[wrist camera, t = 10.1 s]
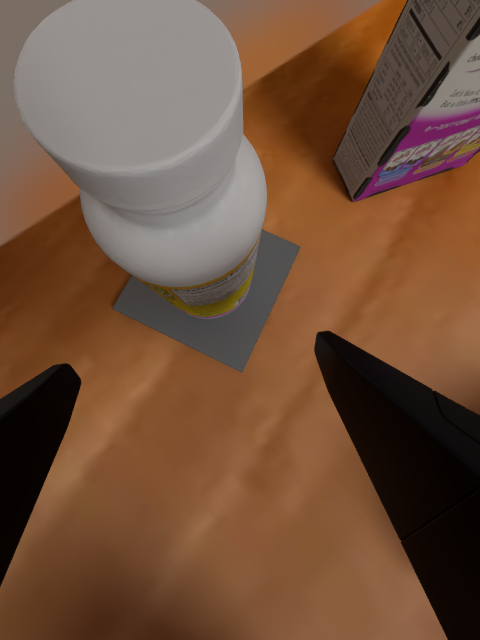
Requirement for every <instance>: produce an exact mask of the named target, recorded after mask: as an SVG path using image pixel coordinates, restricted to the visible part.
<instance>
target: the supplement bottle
mask: <svg viewBox="0 0 480 640" xmlns="http://www.w3.org/2000/svg"><path fill="white" fill-rule="evenodd" d="M242 85H243V84H242V68H241V62H240V58H239V54H238V50H237V47H236V44H235V42H234V40H233V38H232V37H231V35H230V33H229V31H228V30H227V28H226V27H225V25H224V24H223V23H222V22H221V21H220V20H219V19H218V17H217V16H216V15H214V14H213V13H212V12H211V11H210V10H209V9H208V8H207V7H205V6H204V5H202V4H201V3H199V2H198V1H196V0H72V1H70V2H69V3H67V4H65V5H64V6H62V7H60V8H59V9H57V10H55V11H54V12H53V13H52V14H50V15H49V16H48V17H46V18H45V19H44V20H43V21H42V22H41V23H40V24H39V26H38V27H36V28H35V29H34V31H32V33H31V34H30V36H29V37H28V39H27V40H26V42H25V45H24V47H23V49H22V51H21V53H20V55H19V58H18V61H17V64H16V68H15V76H14V92H15V100H16V104H17V108H18V111H19V113H20V115H21V118H22V120H23V122H24V124H25V125H26V127H27V129H28V130H29V132H30V133H31V135H32V136H33V137H34V139H35V140H36V141H37V142H38V144H39V145H40V146H41V147H42V148H44V150H45V151H46V152H47V153H48V154H49V155H50V156H51V157H52V158H53V159H54V160H55V162H56V163H57V164H58V165H59V166H60V167H61V168H62V169H63V170H64V171H65V172H66V174H67V175H68V176H69V177H70V178H71V180H73V182H74V183H75V184H76V185H77V186H78V187H79V188H80V200H81V207H82V211H83V215H84V219H85V222H86V224H87V226H88V229H89V231H90V232H91V234H92V236H93V238H94V240H95V241H96V243H97V244H98V245H99V247H100V248H101V249H102V250H103V252H104V253H105V254H106V255H107V256H108V257H109V258H110V259H111V260H112V261H114V262H115V263H116V264H117V265H118V266H120V267H121V268H122V269H124V270H125V271H126V272H128V273H129V274H131V275H132V276H134V277H135V278H136V279H138V280H139V281H141V282H142V283H143V284H145V285H146V286H148V287H149V288H150V289H152V290H153V291H154V292H156V293H157V294H159V295H160V296H161V297H163V298H164V299H165V300H167V301H168V302H170V303H171V304H172V305H174V306H175V307H177V308H178V309H179V310H181V311H183V312H184V313H186V314H188V315H190V316H193V317H196V318H202V319H212V318H218V317H221V316H224V315H226V314H228V313H230V312H232V311H233V310H235V309H236V308H237V307H238V306H239V305H240V304H241V303H242V302H243V300H244V299H245V297H246V295H247V294H248V291H249V289H250V285H251V281H252V276H253V272H254V266H255V261H256V256H257V251H258V246H259V241H260V237H261V232H262V227H263V223H264V217H265V212H266V204H267V190H266V181H265V176H264V172H263V168H262V165H261V163H260V160H259V158H258V156H257V154H256V152H255V150H254V148H253V147H252V145H251V144H250V142H249V141H248V140H247V138H246V137H245V136H244V135H243V86H242Z"/></svg>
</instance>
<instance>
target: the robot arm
mask: <svg viewBox="0 0 480 640" xmlns="http://www.w3.org/2000/svg"><path fill="white" fill-rule="evenodd" d="M314 351H315V356H316V358H317V361H318V364H319V367H320V370H321V373H322V376H323V378H324V381H325V384H326V387H327V389H328V392H329V394H330V396H331V398H332V401H333V403H334V405H335V407H336V409H337V411H338V413H339V415H340V417H341V419H342V421H343V423H344V425H345V427H346V430H347V432H348V434H349V436H350V438H351V440H352V442H353V444H354V446H355V448H356V450H357V452H358V454H359V456H360V458H361V461H362V463H363V465H364V467H365V469H366V471H367V473H368V475H369V477H370V479H371V481H372V483H373V485H374V487H375V489H376V492H377V494H378V496H379V498H380V500H381V502H382V504H383V506H384V508H385V510H386V512H387V514H388V516H389V518H390V520H391V523H392V525H393V527H394V529H395V531H396V533H397V535H398V537H399V539H400V540H401V544H402V546H403V548H404V550H405V552H406V554H407V556H408V558H409V560H410V562H411V564H412V566H413V568H414V571H415V573H416V575H417V577H418V579H419V581H420V583H421V585H422V587H423V589H424V591H425V593H426V595H427V597H428V599H429V602H430V604H431V606H432V608H433V610H434V612H435V614H436V616H437V618H438V620H439V622H440V624H441V626H442V628H443V631H444V633H445V635H446V637H447V639H448V640H480V415H478V414H476V413H474V412H472V411H471V410H469V409H467V408H465V407H463V406H461V405H460V404H458V403H456V402H454V401H452V400H450V399H449V398H447V397H445V396H443V395H442V394H440V393H438V392H436V391H432V389H431V388H429V387H427V386H426V385H424V384H422V383H420V382H419V381H417V380H415V379H413V378H412V377H410V376H408V375H406V374H404V373H403V372H401V371H399V370H397V369H396V368H394V367H392V366H390V365H389V364H387V363H385V362H383V361H382V360H380V359H378V358H376V357H375V356H373V355H371V354H369V353H367V352H366V351H364V350H362V349H360V348H359V347H357V346H355V345H353V344H352V343H350V342H348V341H346V340H345V339H343V338H341V337H339V336H338V335H336V334H334V333H332V332H330V331H322V332H318V333H317V335H316V342H315V348H314ZM80 386H81V379H80V377H79V376H78V374H77V373H76V372H75V370H74V369H73V368H72V366H71V365H69V364H66V363H65V364H57V365H53V366H52V367H50V368H48V369H47V370H45V371H44V372H42V373H41V374H39V375H37V376H36V377H34V378H33V379H31V380H30V381H28V382H26V383H25V384H23V385H22V386H20V387H19V388H17V389H15V390H14V391H12V392H11V393H9V394H8V395H6V396H4V397H3V398H1V399H0V586H1V584H2V582H3V579H4V577H5V574H6V572H7V570H8V567H9V565H10V563H11V560H12V558H13V555H14V553H15V551H16V548H17V546H18V544H19V541H20V539H21V537H22V534H23V532H24V529H25V527H26V525H27V522H28V520H29V518H30V515H31V513H32V511H33V508H34V506H35V503H36V501H37V499H38V496H39V494H40V492H41V489H42V487H43V484H44V482H45V480H46V477H47V475H48V473H49V470H50V468H51V466H52V463H53V461H54V458H55V456H56V454H57V451H58V449H59V447H60V444H61V442H62V439H63V437H64V435H65V432H66V430H67V427H68V425H69V422H70V419H71V415H72V412H73V409H74V406H75V402H76V399H77V396H78V393H79V389H80Z"/></svg>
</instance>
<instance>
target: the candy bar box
mask: <svg viewBox="0 0 480 640" xmlns="http://www.w3.org/2000/svg"><path fill="white" fill-rule="evenodd" d="M479 151H480V0H407V2H406V4H405V6H404V8H403V10H402V12H401V14H400V16H399V18H398V20H397V22H396V25H395V27H394V29H393V31H392V33H391V35H390V37H389V39H388V41H387V43H386V45H385V47H384V49H383V52H382V54H381V56H380V58H379V60H378V62H377V65H376V68H375V70H374V72H373V74H372V76H371V78H370V80H369V82H368V84H367V86H366V88H365V91H364V93H363V95H362V97H361V99H360V101H359V103H358V106H357V108H356V110H355V112H354V114H353V116H352V118H351V120H350V122H349V124H348V127H347V129H346V131H345V133H344V135H343V138H342V140H341V142H340V144H339V146H338V148H337V150H336V152H335V155H334V157H333V161H334V164H335V166H336V169H337V171H338V173H339V174H340V176H341V178H342V180H343V182H344V184H345V186H346V189H347V191H348V193H349V195H350V197H351V199H352V201H353V202H355V201H359V200H362V199H365V198H368V197H371V196H373V195H376V194H379V193H382V192H385V191H388V190H391V189H394V188H397V187H399V186H402V185H405V184H408V183H411V182H414V181H417V180H420V179H423V178H426V177H429V176H432V175H435V174H438V173H441V172H444V171H447V170H450V169H454V168H457V167H460V166H462V165H465V164H466V163H467V162H468V161H469V160H470V159H471V158H472V157H473V156H474V155H475V154H477V153H478V152H479Z"/></svg>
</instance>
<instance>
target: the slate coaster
mask: <svg viewBox="0 0 480 640" xmlns="http://www.w3.org/2000/svg"><path fill="white" fill-rule="evenodd" d="M299 249H300V246H298V245H296V244H293V243H291V242H289V241H287V240H284V239H282V238H280V237H278V236H275V235H273V234H271V233H269V232H266V231H264V230H262V232H261V237H260V241H259V246H258V251H257V256H256V261H255V266H254V272H253V276H252V281H251V285H250V289H249V291H248V294H247V295H246V297H245V299H244V300H243V302H242V303H241V304H240V305H239V306H238V307H237V308H236V309H235V310H233V311H232V312H230V313H228V314H226V315H224V316H221V317H218V318H212V319H202V318H196V317H193V316H190V315H188V314H186V313H184V312H183V311H181V310H179V309H178V308H177V307H175V306H174V305H172V304H171V303H170V302H168V301H167V300H165V299H164V298H163V297H161V296H160V295H159V294H157V293H156V292H154V291H153V290H152V289H150V288H149V287H148V286H146V285H145V284H143V283H142V282H141V281H139V280H138V279H136V278H135V277H134V276H131V278H130V279H129V281H128V283H127V285H126V286H125V288H124V290H123V291H122V293H121V295H120V297H119V298H118V300H117V302H116V303H115V305H114V307H113V308H112V309H114V310H116V311H118V312H120V313H122V314H124V315H126V316H128V317H130V318H132V319H134V320H136V321H138V322H140V323H142V324H145V325H147V326H149V327H151V328H153V329H155V330H157V331H159V332H161V333H163V334H165V335H167V336H169V337H171V338H173V339H175V340H177V341H179V342H181V343H183V344H185V345H187V346H189V347H191V348H193V349H195V350H198V351H200V352H202V353H204V354H206V355H208V356H210V357H212V358H214V359H216V360H218V361H220V362H222V363H224V364H226V365H228V366H230V367H232V368H234V369H236V370H238V371H240V372H242V371H243V369H244V367H245V365H246V363H247V361H248V359H249V356H250V354H251V352H252V350H253V348H254V346H255V344H256V341H257V339H258V337H259V335H260V333H261V331H262V329H263V326H264V324H265V322H266V320H267V318H268V316H269V314H270V311H271V309H272V307H273V305H274V303H275V301H276V299H277V296H278V294H279V292H280V290H281V288H282V286H283V283H284V281H285V279H286V277H287V275H288V273H289V271H290V268H291V266H292V264H293V262H294V260H295V258H296V256H297V253H298V251H299Z"/></svg>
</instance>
